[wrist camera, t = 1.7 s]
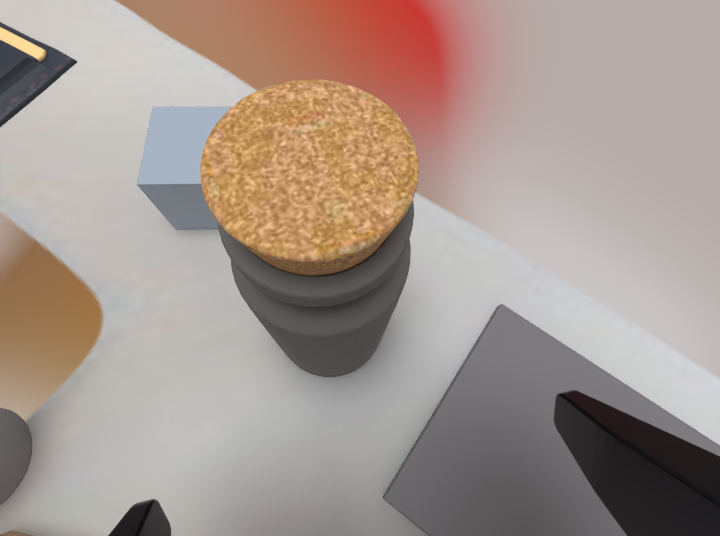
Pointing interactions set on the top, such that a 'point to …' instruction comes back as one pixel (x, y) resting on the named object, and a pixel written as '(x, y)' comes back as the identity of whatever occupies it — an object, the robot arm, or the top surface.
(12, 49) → the wallet
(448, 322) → the top surface
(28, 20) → the top surface
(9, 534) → the walnut block
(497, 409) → the mat
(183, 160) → the slate cube
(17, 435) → the charcoal cylinder
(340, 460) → the top surface
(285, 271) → the bottle
